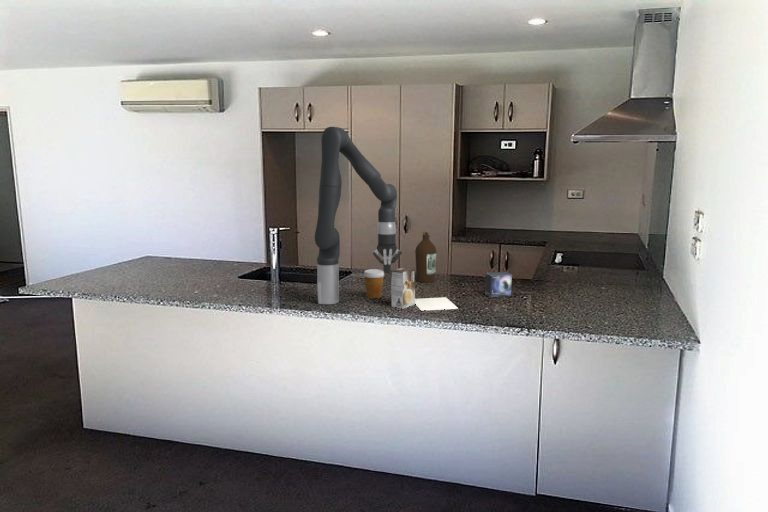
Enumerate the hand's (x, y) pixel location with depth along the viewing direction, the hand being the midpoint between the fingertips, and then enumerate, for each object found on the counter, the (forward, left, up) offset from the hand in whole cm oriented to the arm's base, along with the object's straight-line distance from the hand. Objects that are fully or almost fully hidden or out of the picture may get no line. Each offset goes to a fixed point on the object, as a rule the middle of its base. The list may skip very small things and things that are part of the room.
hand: (387, 273), depth 246 cm
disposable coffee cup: (-3, +17, -15) cm, 23 cm away
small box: (+53, +9, -15) cm, 56 cm away
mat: (+21, 0, -15) cm, 25 cm away
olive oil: (+28, +45, -15) cm, 55 cm away
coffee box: (+7, 0, -15) cm, 16 cm away
